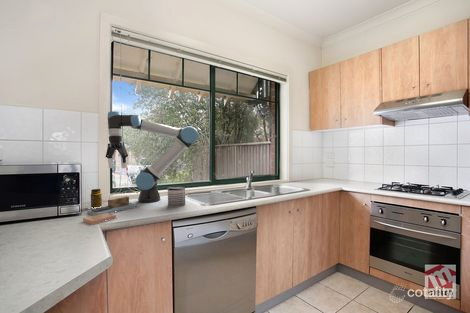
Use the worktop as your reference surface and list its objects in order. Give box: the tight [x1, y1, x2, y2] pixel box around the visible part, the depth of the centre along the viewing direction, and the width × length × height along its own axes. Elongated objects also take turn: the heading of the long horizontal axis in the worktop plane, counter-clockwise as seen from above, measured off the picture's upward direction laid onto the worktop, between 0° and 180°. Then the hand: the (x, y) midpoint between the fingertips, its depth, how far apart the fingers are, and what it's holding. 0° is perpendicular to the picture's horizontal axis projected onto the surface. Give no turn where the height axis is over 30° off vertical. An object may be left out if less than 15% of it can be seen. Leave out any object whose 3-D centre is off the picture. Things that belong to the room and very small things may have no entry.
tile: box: [82, 213, 117, 226], centre depth 120 cm, size 2×10×12 cm
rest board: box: [87, 202, 138, 216], centre depth 141 cm, size 24×13×2 cm, turn 147°
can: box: [167, 186, 186, 208], centre depth 150 cm, size 11×11×12 cm
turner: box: [90, 196, 130, 212], centre depth 140 cm, size 21×6×5 cm, turn 146°
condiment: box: [90, 188, 103, 208], centre depth 148 cm, size 7×8×12 cm
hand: (117, 168), depth 148 cm, fingers open, 13 cm apart
